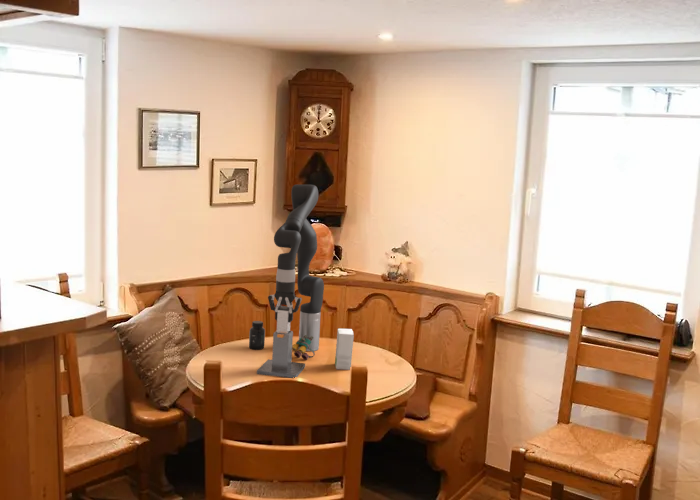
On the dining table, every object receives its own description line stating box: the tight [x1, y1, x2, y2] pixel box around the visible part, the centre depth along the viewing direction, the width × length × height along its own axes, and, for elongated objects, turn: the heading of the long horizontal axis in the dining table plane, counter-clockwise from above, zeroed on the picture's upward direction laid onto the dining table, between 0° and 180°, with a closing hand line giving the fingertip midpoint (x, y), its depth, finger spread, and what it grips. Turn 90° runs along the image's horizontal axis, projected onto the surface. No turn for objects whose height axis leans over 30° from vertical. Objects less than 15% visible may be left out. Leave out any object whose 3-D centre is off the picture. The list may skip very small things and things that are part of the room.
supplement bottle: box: [248, 320, 266, 351], centre depth 318 cm, size 7×7×12 cm
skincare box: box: [334, 328, 355, 371], centre depth 299 cm, size 8×7×16 cm
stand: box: [256, 330, 306, 379], centre depth 289 cm, size 16×16×16 cm
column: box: [276, 305, 291, 334], centre depth 288 cm, size 5×5×21 cm
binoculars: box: [292, 335, 316, 361], centre depth 308 cm, size 9×9×10 cm
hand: (283, 321), depth 287 cm, fingers closed on column, 4 cm apart
